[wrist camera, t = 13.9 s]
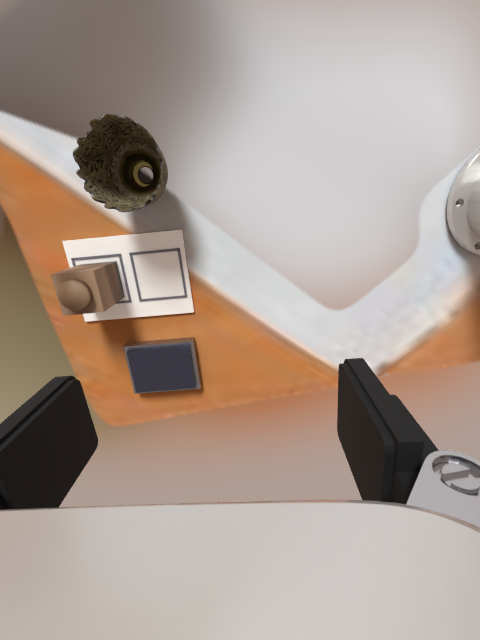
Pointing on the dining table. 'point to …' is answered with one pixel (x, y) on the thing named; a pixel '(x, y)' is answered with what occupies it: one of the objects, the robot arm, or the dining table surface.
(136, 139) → the carved brown lampshade
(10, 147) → the dining table surface
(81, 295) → the stamp
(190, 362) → the ink pad
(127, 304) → the sheet
